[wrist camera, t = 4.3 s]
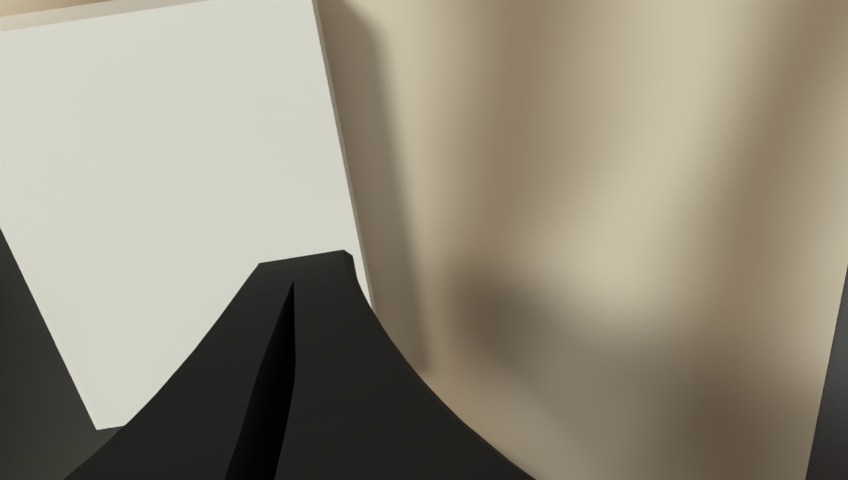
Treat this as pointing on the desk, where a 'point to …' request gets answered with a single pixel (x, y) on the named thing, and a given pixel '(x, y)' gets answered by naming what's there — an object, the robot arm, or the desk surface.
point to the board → (603, 219)
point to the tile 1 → (164, 174)
